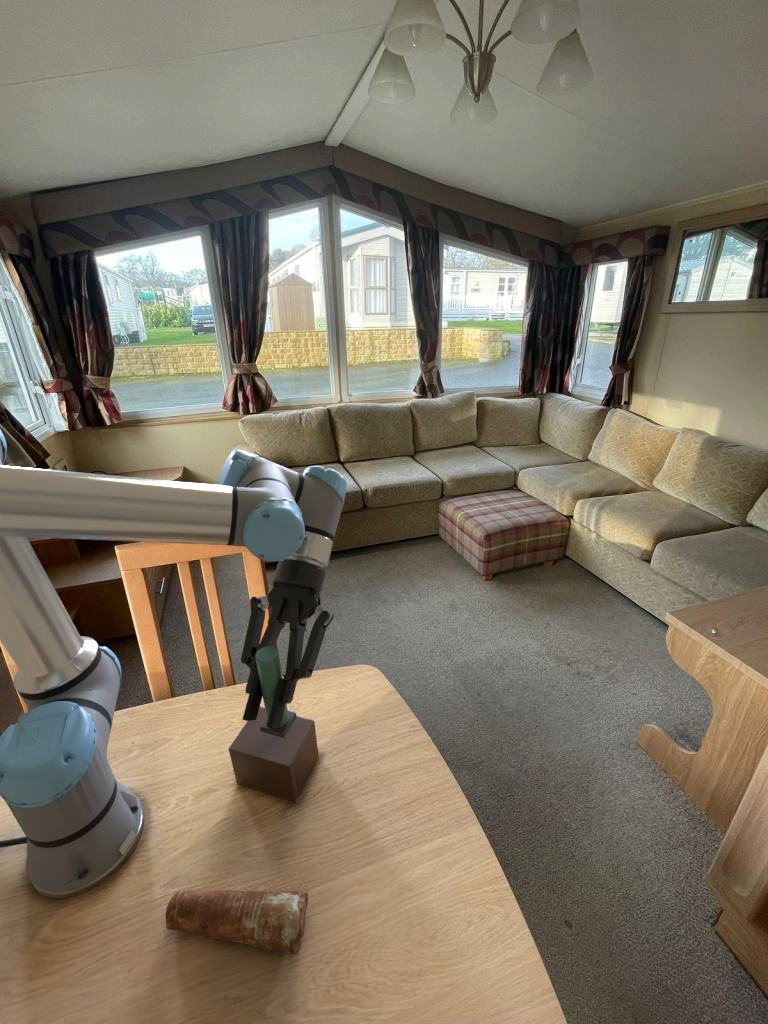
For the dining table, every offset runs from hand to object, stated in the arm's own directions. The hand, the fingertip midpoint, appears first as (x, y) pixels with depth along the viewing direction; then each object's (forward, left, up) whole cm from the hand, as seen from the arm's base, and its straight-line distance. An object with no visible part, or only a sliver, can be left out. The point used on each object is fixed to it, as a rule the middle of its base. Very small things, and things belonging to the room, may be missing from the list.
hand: (261, 722), depth 68 cm
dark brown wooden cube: (-3, +6, -20) cm, 21 cm away
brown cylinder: (+3, -16, -20) cm, 26 cm away
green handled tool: (0, +4, -5) cm, 6 cm away
